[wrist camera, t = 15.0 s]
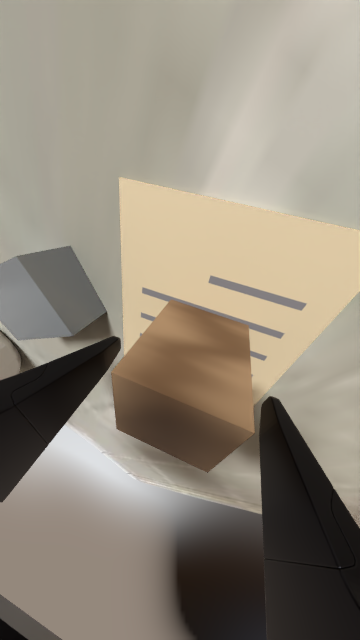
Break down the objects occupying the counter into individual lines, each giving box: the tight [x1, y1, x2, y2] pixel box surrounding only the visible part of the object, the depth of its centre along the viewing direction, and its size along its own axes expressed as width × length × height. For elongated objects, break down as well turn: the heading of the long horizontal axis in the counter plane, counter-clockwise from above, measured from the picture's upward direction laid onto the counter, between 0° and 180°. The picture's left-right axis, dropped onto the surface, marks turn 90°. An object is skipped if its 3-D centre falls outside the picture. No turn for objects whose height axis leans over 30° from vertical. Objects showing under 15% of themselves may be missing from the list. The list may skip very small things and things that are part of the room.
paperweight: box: [0, 246, 107, 340], centre depth 12 cm, size 7×5×4 cm
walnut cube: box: [111, 299, 255, 473], centre depth 9 cm, size 5×5×6 cm
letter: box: [119, 177, 360, 406], centre depth 12 cm, size 12×16×1 cm
